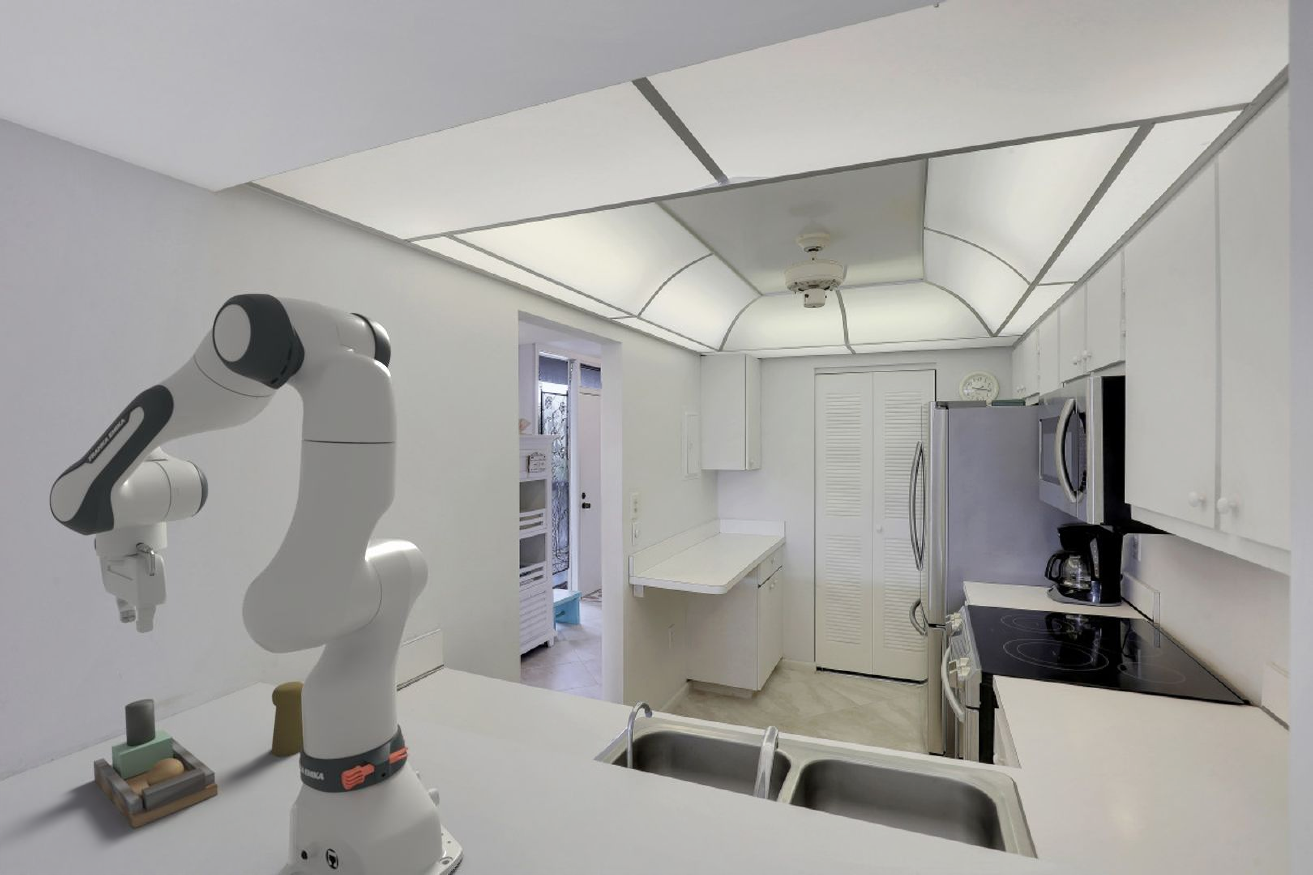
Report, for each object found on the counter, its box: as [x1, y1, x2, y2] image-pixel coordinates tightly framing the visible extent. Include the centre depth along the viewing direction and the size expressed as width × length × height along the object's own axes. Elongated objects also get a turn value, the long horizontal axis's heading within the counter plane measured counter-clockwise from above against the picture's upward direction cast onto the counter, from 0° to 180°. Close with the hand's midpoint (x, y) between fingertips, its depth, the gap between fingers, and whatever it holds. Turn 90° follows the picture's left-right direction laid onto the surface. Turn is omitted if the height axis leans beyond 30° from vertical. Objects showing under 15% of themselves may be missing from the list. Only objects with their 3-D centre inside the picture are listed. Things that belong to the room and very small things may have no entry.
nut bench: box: [93, 737, 219, 829], centre depth 99 cm, size 22×10×4 cm, turn 52°
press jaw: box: [111, 698, 173, 780], centre depth 102 cm, size 5×7×10 cm
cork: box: [271, 681, 304, 757], centre depth 110 cm, size 6×6×11 cm
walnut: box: [147, 758, 184, 786], centre depth 95 cm, size 4×4×4 cm
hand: (136, 626), depth 102 cm, fingers open, 8 cm apart
